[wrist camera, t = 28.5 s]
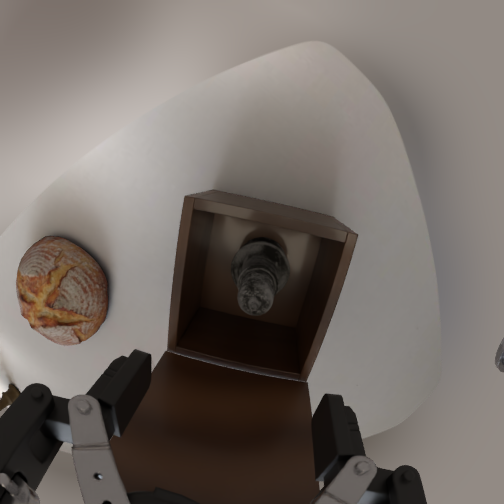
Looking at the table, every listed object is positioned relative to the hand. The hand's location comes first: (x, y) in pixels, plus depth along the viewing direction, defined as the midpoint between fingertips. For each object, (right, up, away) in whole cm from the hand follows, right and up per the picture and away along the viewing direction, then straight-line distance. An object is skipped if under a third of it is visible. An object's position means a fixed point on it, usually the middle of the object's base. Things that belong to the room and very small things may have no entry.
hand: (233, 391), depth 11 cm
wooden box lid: (-1, -7, +5) cm, 8 cm away
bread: (-28, +1, +25) cm, 37 cm away
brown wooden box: (+2, +5, +21) cm, 22 cm away
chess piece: (+2, +5, +20) cm, 21 cm away
